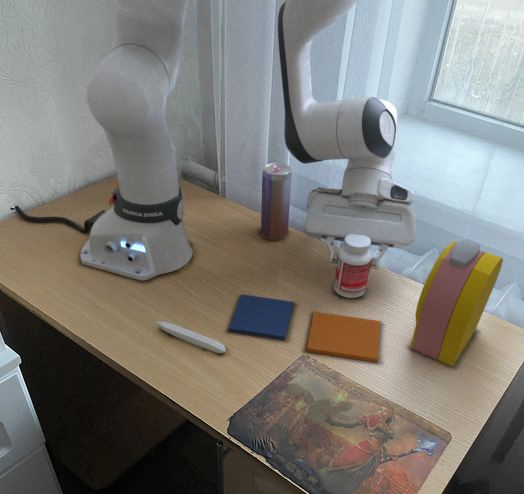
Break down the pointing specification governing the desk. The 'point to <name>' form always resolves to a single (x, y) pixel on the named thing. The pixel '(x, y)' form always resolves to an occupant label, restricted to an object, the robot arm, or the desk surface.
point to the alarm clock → (454, 300)
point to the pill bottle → (353, 266)
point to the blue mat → (262, 317)
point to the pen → (192, 337)
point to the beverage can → (275, 200)
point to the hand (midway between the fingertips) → (353, 265)
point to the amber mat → (344, 336)
